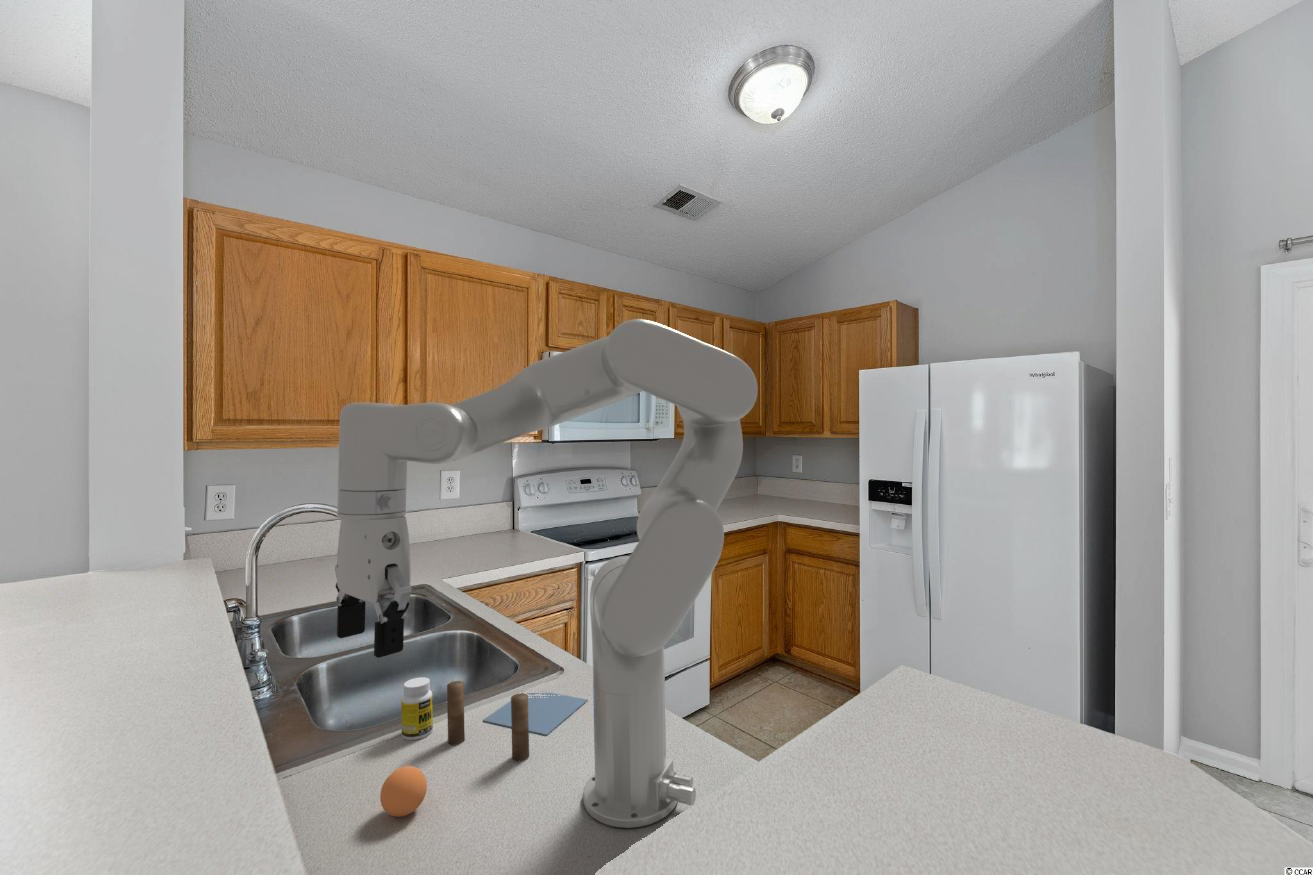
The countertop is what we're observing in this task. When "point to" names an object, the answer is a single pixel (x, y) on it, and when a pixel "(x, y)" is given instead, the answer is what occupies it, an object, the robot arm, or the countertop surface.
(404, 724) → the supplement bottle
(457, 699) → the post far
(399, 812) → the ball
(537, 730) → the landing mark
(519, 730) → the post near
